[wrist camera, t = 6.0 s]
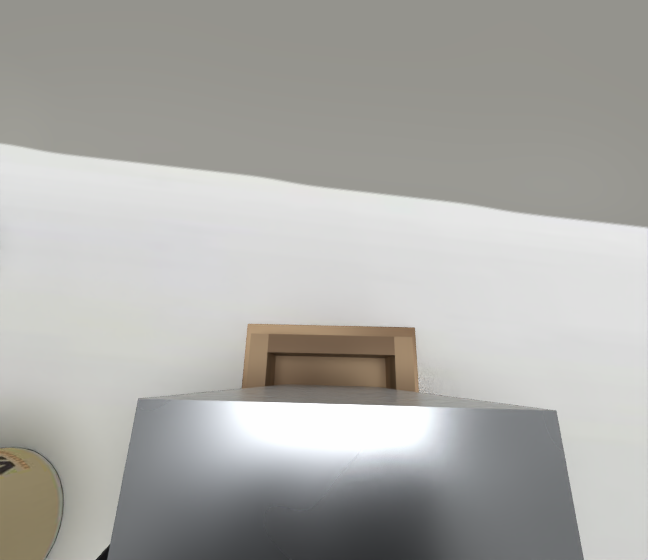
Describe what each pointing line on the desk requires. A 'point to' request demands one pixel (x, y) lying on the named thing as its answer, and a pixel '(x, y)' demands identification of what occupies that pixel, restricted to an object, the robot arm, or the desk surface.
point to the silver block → (343, 478)
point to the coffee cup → (28, 505)
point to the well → (330, 356)
